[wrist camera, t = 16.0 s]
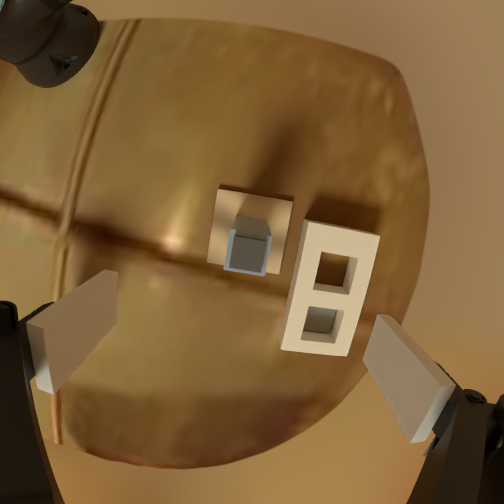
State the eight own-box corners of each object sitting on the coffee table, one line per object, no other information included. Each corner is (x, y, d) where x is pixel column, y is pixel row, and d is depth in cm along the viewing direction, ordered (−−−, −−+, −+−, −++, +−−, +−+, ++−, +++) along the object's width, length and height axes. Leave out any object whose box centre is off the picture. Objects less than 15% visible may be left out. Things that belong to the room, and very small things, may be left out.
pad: (218, 188, 42) (217, 188, 41) (292, 201, 42) (292, 201, 41) (207, 261, 44) (206, 262, 43) (278, 272, 44) (279, 274, 44)
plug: (236, 215, 42) (229, 229, 29) (266, 220, 42) (272, 237, 29) (231, 244, 43) (222, 271, 30) (260, 249, 43) (265, 278, 30)
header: (304, 218, 43) (308, 221, 39) (370, 232, 43) (380, 236, 40) (278, 338, 46) (280, 349, 43) (340, 345, 47) (346, 356, 43)
